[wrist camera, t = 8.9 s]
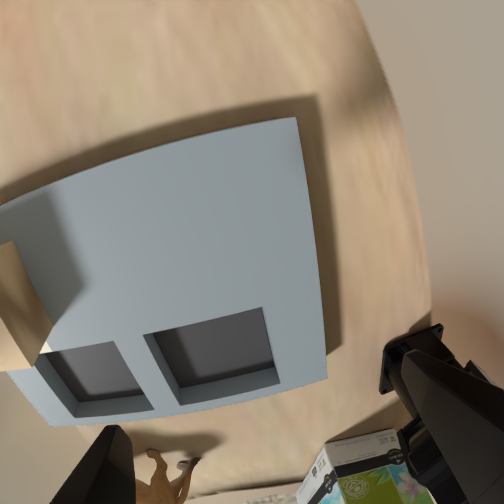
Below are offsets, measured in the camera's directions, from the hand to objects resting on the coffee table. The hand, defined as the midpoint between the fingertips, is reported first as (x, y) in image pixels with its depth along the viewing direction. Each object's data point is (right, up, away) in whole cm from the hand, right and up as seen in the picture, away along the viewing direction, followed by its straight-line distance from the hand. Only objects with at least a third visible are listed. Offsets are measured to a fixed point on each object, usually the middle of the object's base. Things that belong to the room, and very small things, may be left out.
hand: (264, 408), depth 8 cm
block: (-16, +2, +7) cm, 18 cm away
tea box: (+11, -23, +25) cm, 36 cm away
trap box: (-8, +1, +11) cm, 14 cm away
